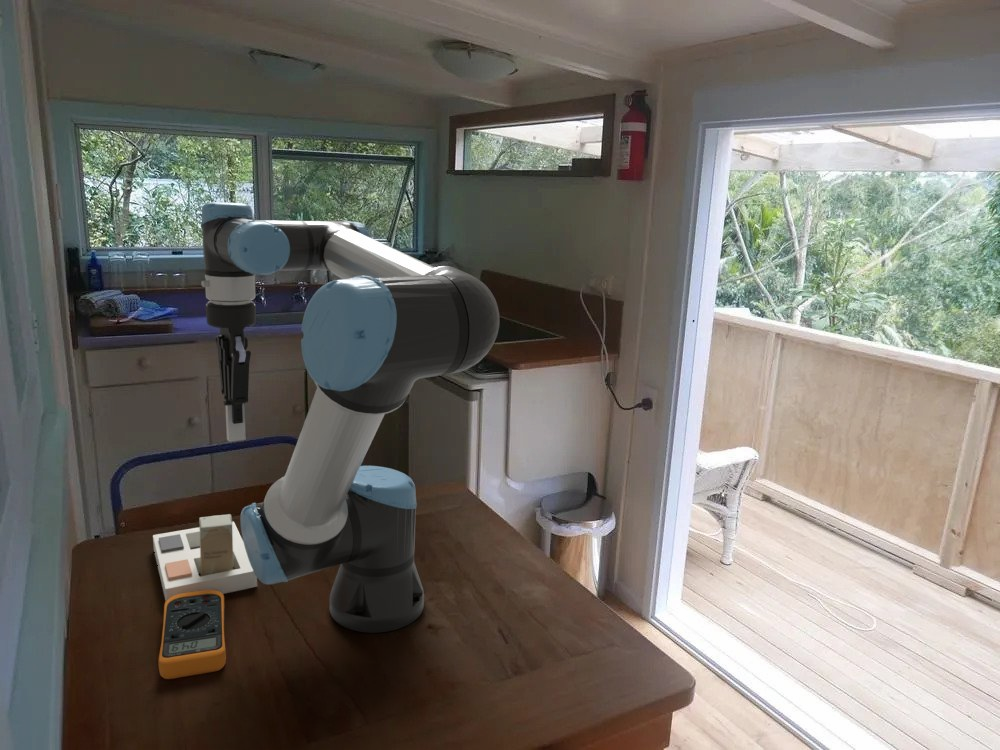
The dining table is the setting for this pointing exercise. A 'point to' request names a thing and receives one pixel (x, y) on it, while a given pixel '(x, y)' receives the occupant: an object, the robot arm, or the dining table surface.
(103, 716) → the dining table surface
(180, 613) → the multimeter
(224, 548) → the box
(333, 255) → the robot arm
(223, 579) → the socket board
